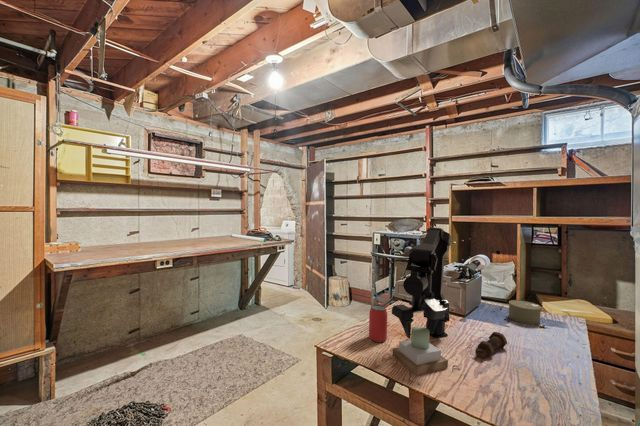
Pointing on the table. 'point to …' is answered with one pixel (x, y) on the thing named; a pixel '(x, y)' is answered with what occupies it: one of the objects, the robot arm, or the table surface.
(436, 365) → the walnut base slab
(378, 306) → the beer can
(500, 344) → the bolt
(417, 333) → the green cylinder
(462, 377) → the table surface
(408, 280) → the robot arm
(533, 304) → the can
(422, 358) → the grey top slab
